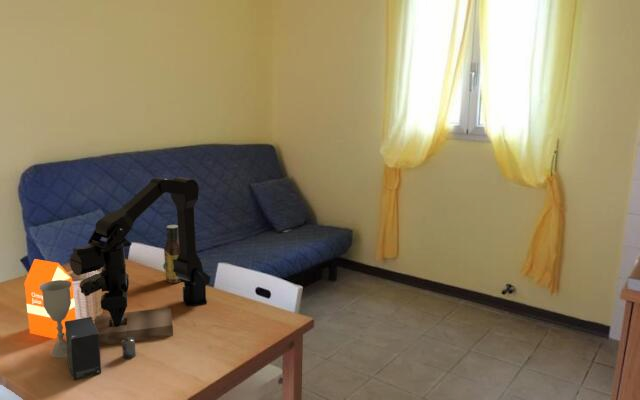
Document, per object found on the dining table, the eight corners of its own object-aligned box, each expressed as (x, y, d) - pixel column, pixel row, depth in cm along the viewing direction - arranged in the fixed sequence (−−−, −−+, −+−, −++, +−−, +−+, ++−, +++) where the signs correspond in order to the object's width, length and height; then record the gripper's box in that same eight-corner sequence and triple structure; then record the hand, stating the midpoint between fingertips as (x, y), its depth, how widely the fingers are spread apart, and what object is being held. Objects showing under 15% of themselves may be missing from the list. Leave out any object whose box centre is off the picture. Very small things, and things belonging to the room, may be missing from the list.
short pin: (135, 352, 127) (134, 336, 126) (135, 358, 124) (134, 341, 124) (123, 354, 126) (121, 337, 125) (122, 360, 123) (121, 343, 123)
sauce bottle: (167, 277, 178) (165, 223, 174) (185, 277, 178) (183, 223, 174) (163, 284, 172) (160, 228, 167) (182, 284, 172) (180, 228, 168)
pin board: (170, 316, 147) (170, 307, 147) (173, 335, 136) (172, 325, 136) (96, 325, 141) (95, 316, 140) (92, 346, 130) (92, 335, 129)
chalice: (84, 348, 129) (78, 282, 125) (62, 361, 122) (55, 292, 118) (61, 343, 131) (55, 278, 127) (39, 356, 125) (32, 288, 121)
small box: (103, 373, 118) (100, 332, 115) (72, 381, 114) (68, 339, 112) (95, 353, 126) (92, 315, 124) (66, 360, 123) (62, 321, 121)
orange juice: (52, 321, 143) (46, 254, 139) (77, 326, 140) (71, 258, 136) (29, 333, 136) (21, 263, 132) (54, 339, 133) (46, 267, 129)
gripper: (84, 256, 139) (88, 308, 142) (76, 280, 122) (81, 339, 125) (127, 252, 143) (130, 304, 146) (125, 275, 126) (129, 332, 129)
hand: (117, 319), depth 136 cm, fingers open, 9 cm apart
